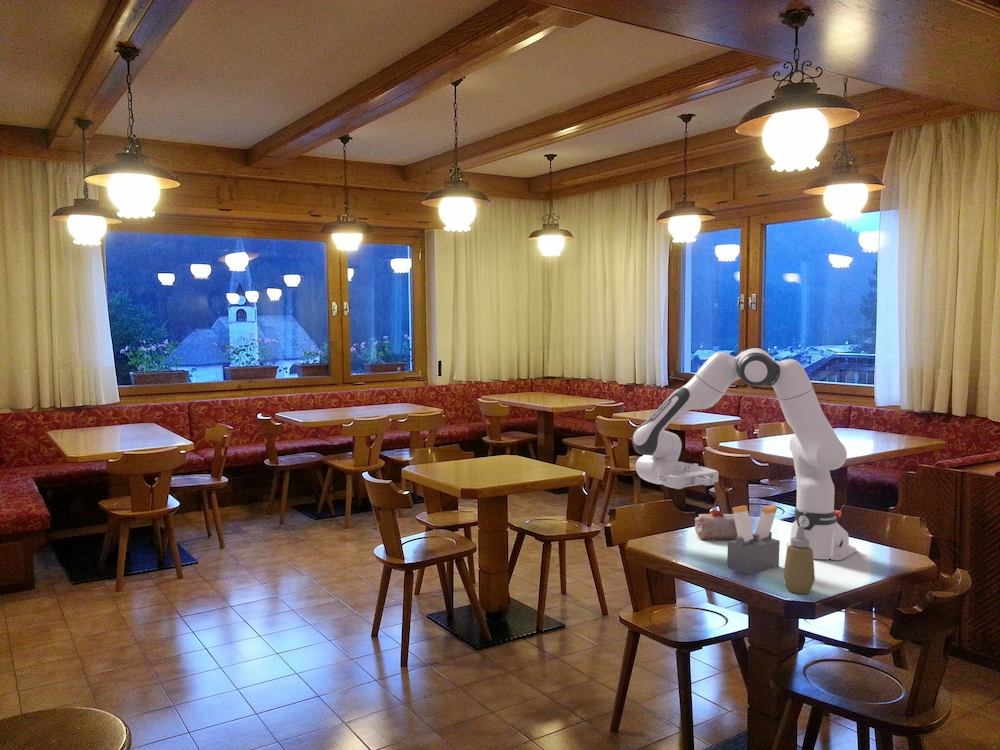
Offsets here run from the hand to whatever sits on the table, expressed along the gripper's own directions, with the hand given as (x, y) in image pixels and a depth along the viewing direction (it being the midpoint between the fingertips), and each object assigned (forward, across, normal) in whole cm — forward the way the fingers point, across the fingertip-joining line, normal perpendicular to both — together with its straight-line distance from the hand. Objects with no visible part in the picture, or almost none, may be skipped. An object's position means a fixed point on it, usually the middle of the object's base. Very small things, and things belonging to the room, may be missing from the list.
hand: (710, 482), depth 237 cm
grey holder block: (+14, +4, +24) cm, 28 cm away
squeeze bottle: (+34, -3, +24) cm, 41 cm away
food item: (-13, +20, +24) cm, 34 cm away
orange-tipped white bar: (+14, +8, +15) cm, 21 cm away
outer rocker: (+14, 0, +15) cm, 20 cm away
